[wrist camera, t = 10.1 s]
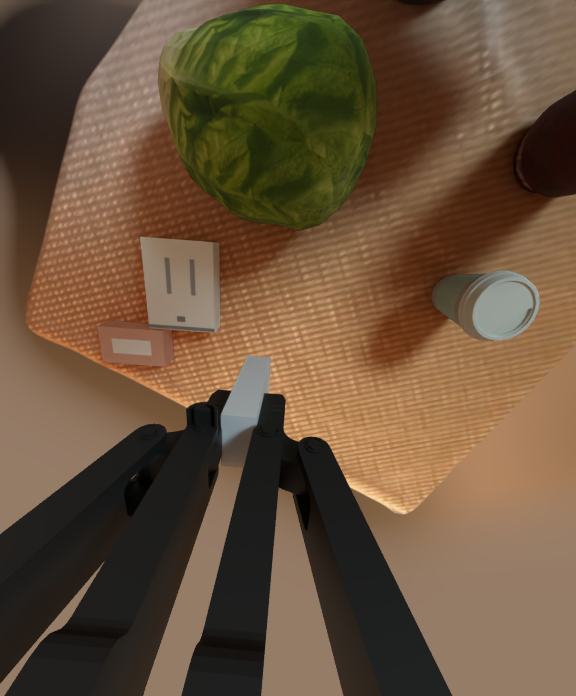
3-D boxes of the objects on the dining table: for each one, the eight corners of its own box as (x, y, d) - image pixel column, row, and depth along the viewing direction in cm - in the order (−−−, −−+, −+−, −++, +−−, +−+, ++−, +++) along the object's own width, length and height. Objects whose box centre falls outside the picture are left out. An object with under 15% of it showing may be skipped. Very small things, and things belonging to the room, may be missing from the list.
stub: (111, 320, 46) (96, 326, 42) (171, 325, 46) (161, 331, 42) (116, 354, 48) (102, 362, 44) (174, 358, 48) (164, 367, 44)
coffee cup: (421, 323, 45) (463, 348, 34) (423, 269, 42) (471, 276, 31) (475, 317, 44) (537, 341, 33) (481, 262, 42) (552, 267, 30)
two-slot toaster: (152, 237, 41) (139, 236, 38) (219, 242, 41) (212, 242, 38) (159, 322, 46) (149, 328, 42) (220, 326, 46) (214, 333, 42)
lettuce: (241, 5, 33) (117, -201, 17) (406, 112, 33) (440, 7, 17) (191, 170, 42) (80, 138, 26) (321, 255, 42) (290, 275, 26)
